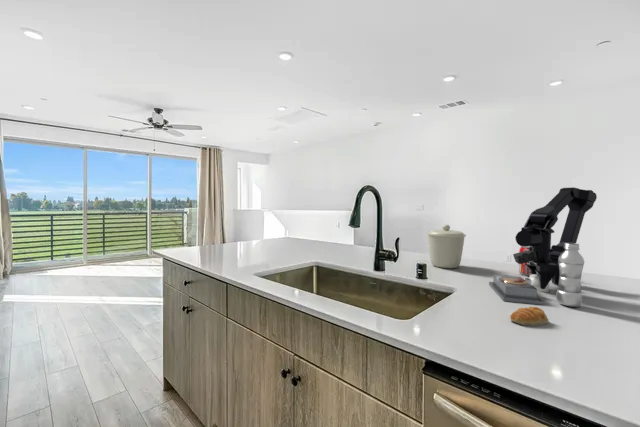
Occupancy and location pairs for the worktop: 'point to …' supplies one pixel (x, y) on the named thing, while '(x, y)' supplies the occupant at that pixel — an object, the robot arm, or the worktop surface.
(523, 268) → the soda can
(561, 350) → the worktop surface
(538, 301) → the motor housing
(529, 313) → the pastry
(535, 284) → the white rounded piece
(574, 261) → the plastic bottle
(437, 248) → the canister
